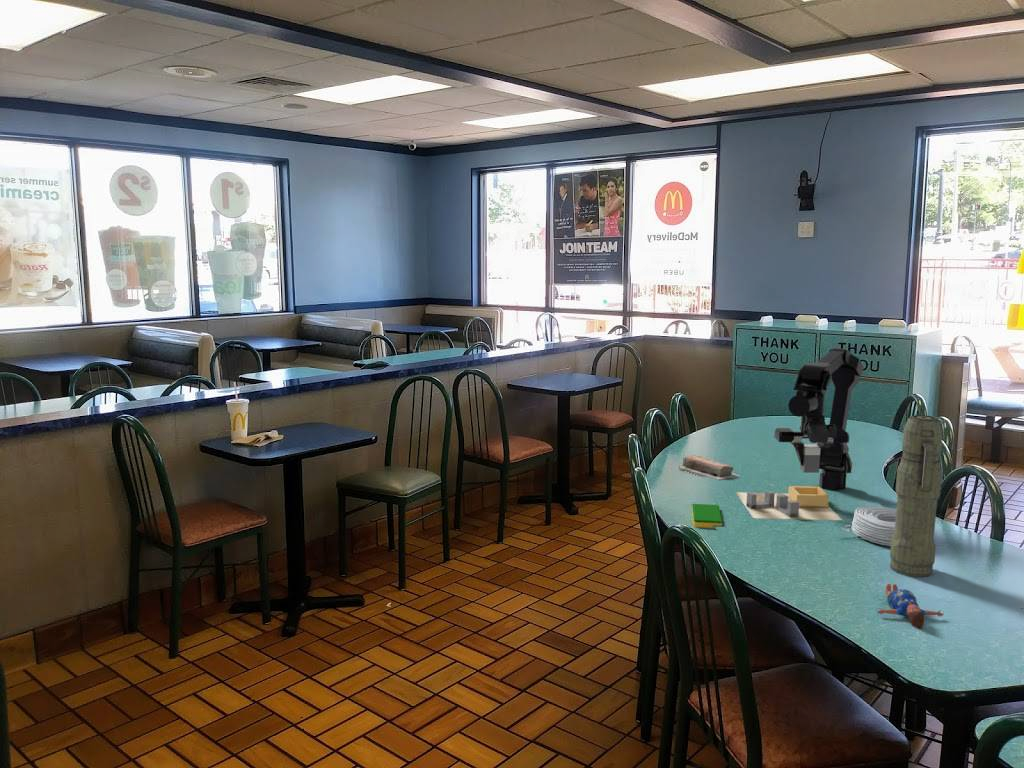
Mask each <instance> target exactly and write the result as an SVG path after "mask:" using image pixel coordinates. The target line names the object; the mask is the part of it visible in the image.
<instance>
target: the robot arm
mask: <svg viewBox="0 0 1024 768" xmlns="http://www.w3.org/2000/svg"><path fill="white" fill-rule="evenodd" d="M863 371H864V366H863V364H862V361H861V360H860V358H858V357H856V355H854V354H853V353H851V351H850V350H848V349H846V348H834V347H833V348H830V349H829V351H828V353H827V354H826V355H823V357H822V358H820V359H819V360H818V361H815V362H808V363H805V364H804V365H802V367H801V368H800V369H799V372H798V375H797V377H796V381H795V384H794V387H793V390H794V391H796V395H793V396H792V397H791V398H790V400H789V401H788V405H787V406H788V410H789V412H790V413H791V414H792V415H793V416H795V417H799V418H800V417H801V418H800V426H799V431H793V430H792V429H791V428H790V427H777V428H776V429H775V430H774V439H775V440H777V441H778V442H779V443H790V444H791V445H793V447H794V450H795V452H796V455H797V458H798V461H799V466H800V465H801V466H803V446H804V444H805V443H804V442H803V439H808V441H809V442H810V443H811V444H816V443H817V444H816V445H817V446H819V447H820V464H819V470H821V472H819V479H818V480H819V484H818V487H820V488H821V489H822V490H830V491H843V490H846V487H847V475H848V474H851V473H852V469H853V463H852V458H851V456H850V454H849V451H850V450H849V449H850V447H849V445H848V443H850V433H848V432H847V424H848V418H849V411H850V410H849V409H850V406H851V397H852V392H853V390H854V388H855V387H856V386H857V385H858V384H859V382H860V379H861V376H862V375H863ZM831 381H832V384H833V386H834V393H833V398H832V399H833V400H832V405H831V413H830V417H829V423H828V424H826V416H825V415H824V414H825V399H826V397H825V396H826V393H827V391H828V388H829V386H830V383H831Z"/></svg>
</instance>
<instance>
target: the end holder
mask: <svg viewBox="0 0 1024 768" xmlns="http://www.w3.org/2000/svg"><path fill="white" fill-rule="evenodd" d="M787 492H788V499H789V500H790V501H798V502H799V508H828V506H829V499H830V495H828V494H827V492H825V490H824V489H822V488H821V487H820V486H804V485H803V486H802V485H801V486H798V485H795V486H794V485H791V486H789V485H788V491H787Z"/></svg>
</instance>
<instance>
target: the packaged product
mask: <svg viewBox="0 0 1024 768" xmlns="http://www.w3.org/2000/svg"><path fill="white" fill-rule="evenodd" d="M679 469H680V470H679ZM678 470H679V471H681V470H683V471H682V472H684V471H687V472H689V473H688V474H690V473H692V474H691V475H693V474H695V475H694V476H696V475H698V476H697V477H699V476H701V477H700V478H709V479H713V480H716V481H721V480H726V479H732V478H741V475H740V474H737V473H733V470H734V466H732V465H729V464H726V463H722V462H720V461H715V460H713V459H710V458H708V457H705V456H700V455H696V454H694V455H687V456H684V457H683V458H682V465H679V466H678ZM687 472H686V473H687Z"/></svg>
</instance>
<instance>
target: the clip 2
mask: <svg viewBox="0 0 1024 768" xmlns="http://www.w3.org/2000/svg"><path fill="white" fill-rule="evenodd" d="M776 509H777V510H778V511H780V512H782V513H783V514H785V515H787V516H788V517H798V515H799V502H798V501H788V496H787V495H777V502H776Z"/></svg>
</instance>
